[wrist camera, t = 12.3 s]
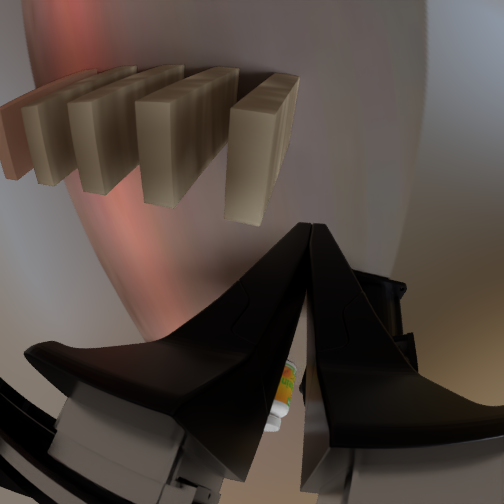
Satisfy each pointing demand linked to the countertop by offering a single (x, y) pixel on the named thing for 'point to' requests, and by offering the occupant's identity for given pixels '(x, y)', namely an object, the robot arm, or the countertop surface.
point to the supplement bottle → (282, 398)
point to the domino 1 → (13, 131)
